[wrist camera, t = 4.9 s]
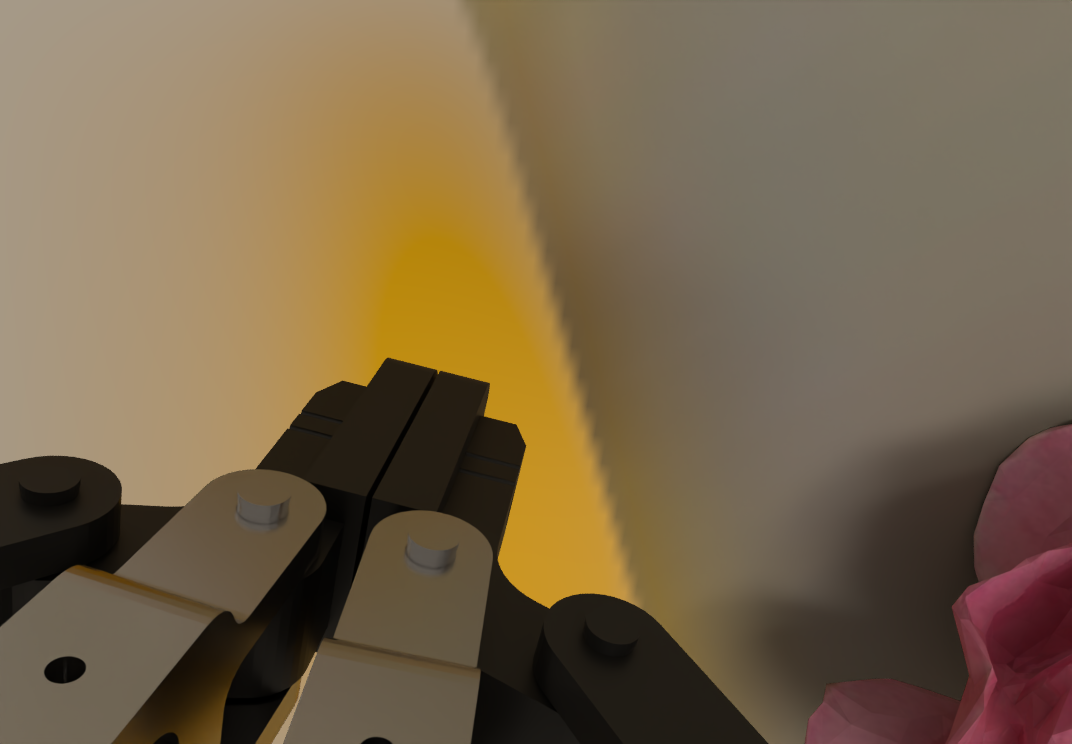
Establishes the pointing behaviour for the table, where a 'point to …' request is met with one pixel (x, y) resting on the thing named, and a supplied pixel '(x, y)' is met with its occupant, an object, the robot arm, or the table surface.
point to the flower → (991, 626)
